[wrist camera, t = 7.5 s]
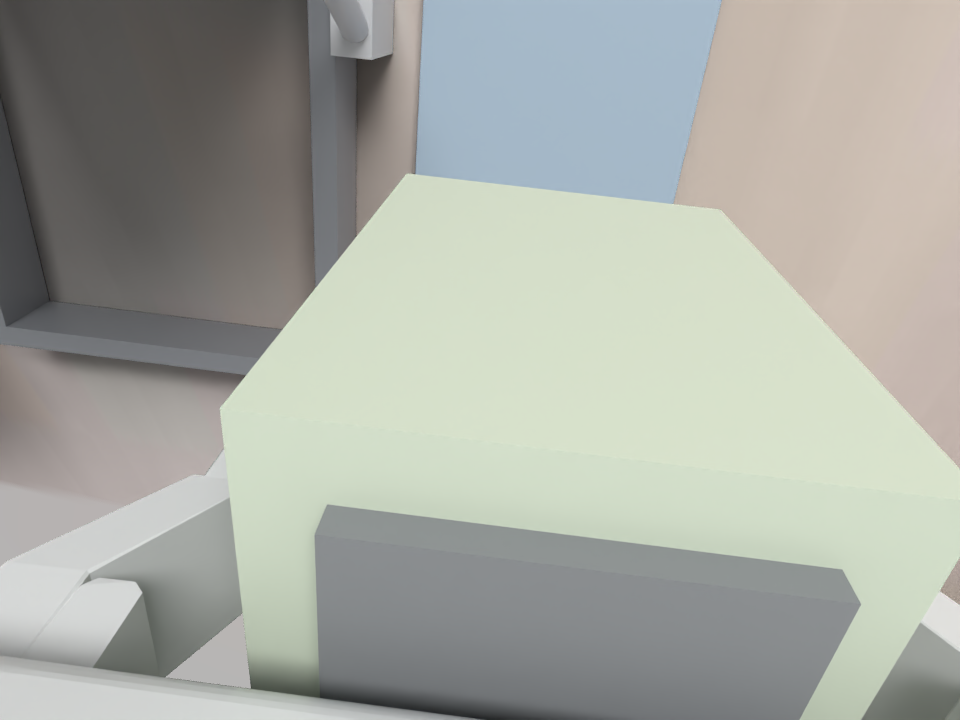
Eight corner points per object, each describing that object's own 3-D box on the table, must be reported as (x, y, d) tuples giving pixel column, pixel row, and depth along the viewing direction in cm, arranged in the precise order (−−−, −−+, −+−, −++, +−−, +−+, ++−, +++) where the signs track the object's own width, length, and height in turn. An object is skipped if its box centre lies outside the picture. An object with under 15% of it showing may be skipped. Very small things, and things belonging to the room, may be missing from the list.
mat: (725, -31, 20) (729, -32, 19) (625, 393, 27) (626, 398, 26) (428, -62, 20) (426, -64, 19) (407, 366, 27) (406, 371, 27)
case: (399, -187, 18) (160, -513, 7) (384, 359, 27) (265, 623, 15) (-107, -238, 19) (-1126, -624, 7) (35, 316, 27) (-336, 540, 16)
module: (720, 209, 10) (1023, 537, 4) (630, 539, 14) (712, 1009, 7) (406, 173, 10) (199, 434, 4) (392, 509, 14) (267, 946, 7)
